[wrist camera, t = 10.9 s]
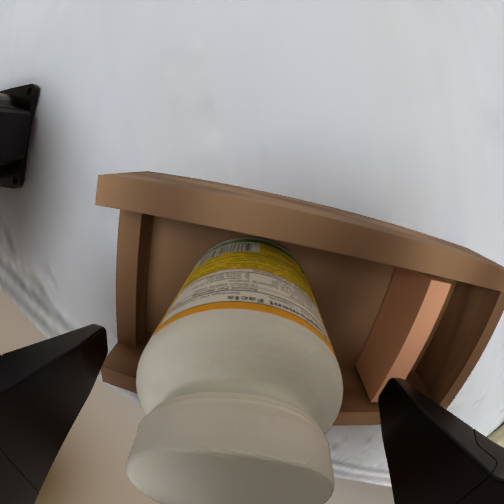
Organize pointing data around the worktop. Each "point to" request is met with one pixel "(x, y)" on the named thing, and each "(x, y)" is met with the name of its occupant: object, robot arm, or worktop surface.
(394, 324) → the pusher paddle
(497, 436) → the wavy plaster lump
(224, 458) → the supplement bottle
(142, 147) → the worktop surface
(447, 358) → the pusher lane
